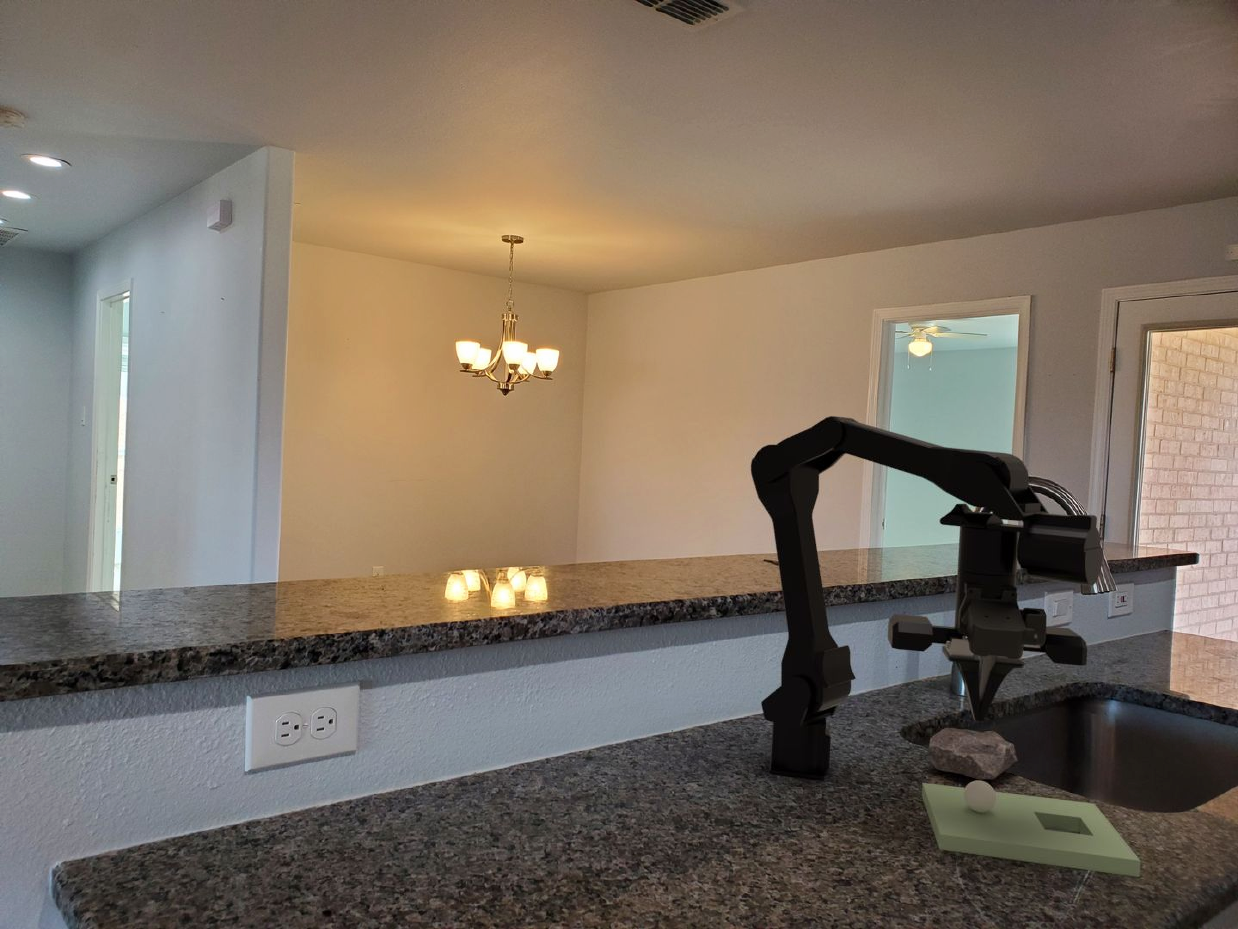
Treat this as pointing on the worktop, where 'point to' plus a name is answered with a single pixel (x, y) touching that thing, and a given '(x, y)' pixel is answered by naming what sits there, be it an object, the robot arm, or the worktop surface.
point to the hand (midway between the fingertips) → (978, 720)
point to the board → (1029, 831)
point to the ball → (980, 796)
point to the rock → (971, 753)
